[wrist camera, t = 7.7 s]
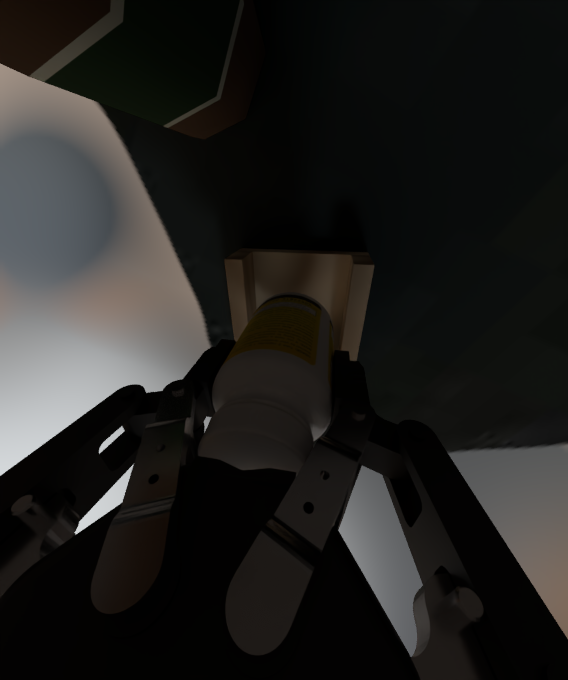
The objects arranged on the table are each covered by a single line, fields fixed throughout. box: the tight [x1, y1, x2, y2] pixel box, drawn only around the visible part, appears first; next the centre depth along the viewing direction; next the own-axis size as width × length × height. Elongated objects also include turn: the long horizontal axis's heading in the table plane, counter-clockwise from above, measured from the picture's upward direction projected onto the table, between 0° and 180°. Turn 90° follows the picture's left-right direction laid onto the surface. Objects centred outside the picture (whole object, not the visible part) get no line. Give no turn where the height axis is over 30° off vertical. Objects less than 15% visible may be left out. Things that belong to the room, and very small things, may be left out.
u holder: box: [224, 248, 374, 361], centre depth 19 cm, size 9×9×4 cm
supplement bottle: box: [198, 292, 334, 476], centre depth 12 cm, size 5×5×10 cm
